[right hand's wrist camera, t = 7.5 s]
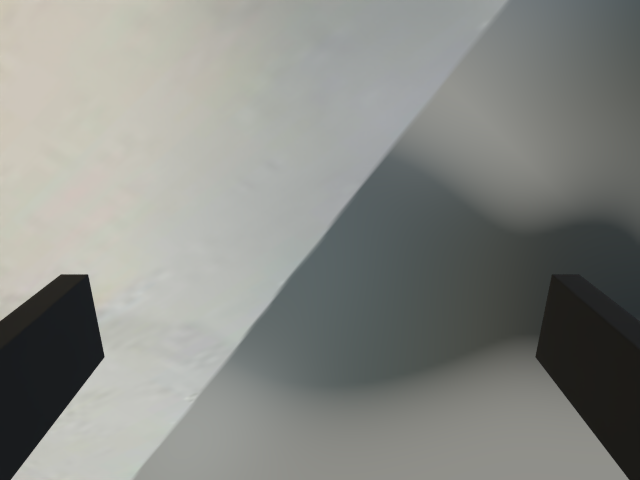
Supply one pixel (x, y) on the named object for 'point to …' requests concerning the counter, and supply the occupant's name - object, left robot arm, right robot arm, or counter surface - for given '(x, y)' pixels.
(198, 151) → the counter surface
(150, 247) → the counter surface
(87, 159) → the counter surface
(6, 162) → the counter surface
